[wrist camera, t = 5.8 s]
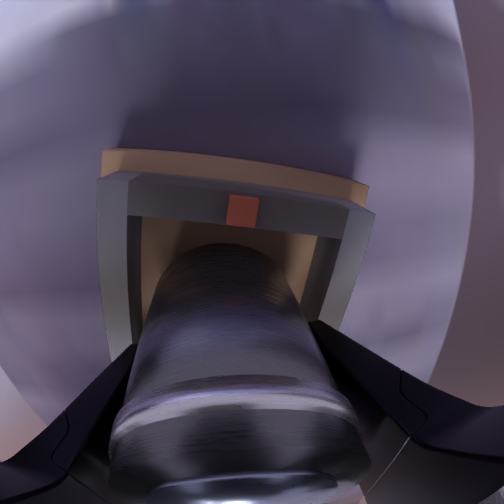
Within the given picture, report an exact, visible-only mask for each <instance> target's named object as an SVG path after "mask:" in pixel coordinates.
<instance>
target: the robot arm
mask: <svg viewBox="0 0 504 504" xmlns="http://www.w3.org/2000/svg"><path fill="white" fill-rule="evenodd" d="M308 324H309V326H310V328H311V331H312V333H313V335H314V337H315V339H316V341H317V343H318V345H319V347H320V350H321V352H322V354H323V356H324V358H325V360H326V362H327V365H328V367H329V369H330V371H331V373H332V375H333V378H334V380H335V382H336V384H337V386H338V388H339V391H340V393H341V394H342V395H344V396H345V397H346V398H347V399H348V401H349V402H350V403H351V405H352V407H353V409H354V411H355V413H356V415H357V417H358V420H359V422H360V424H361V426H362V428H363V431H364V442H363V444H364V446H365V448H366V451H367V453H368V455H369V457H370V460H371V463H372V464H371V469H370V471H369V473H368V474H367V476H366V477H365V478H364V479H363V480H362V481H361V482H360V483H359V485H360V487H361V490H362V492H363V494H364V496H365V499H366V502H367V504H504V405H502V406H496V407H483V406H478V405H474V404H472V403H469V402H467V401H465V400H462V399H460V398H458V397H455V396H453V395H451V394H449V393H446V392H444V391H442V390H439V389H437V388H435V387H433V386H431V385H429V384H427V383H425V382H423V381H421V380H419V379H418V378H416V377H414V376H412V375H410V374H409V373H407V372H405V371H404V370H401V369H400V368H398V367H397V366H395V365H393V364H392V363H390V362H388V361H387V360H385V359H383V358H382V357H380V356H379V355H377V354H375V353H374V352H372V351H370V350H369V349H367V348H365V347H364V346H362V345H360V344H359V343H357V342H355V341H354V340H352V339H351V338H349V337H347V336H346V335H344V334H342V333H341V332H339V331H338V330H336V329H334V328H333V327H331V326H330V325H328V324H326V323H325V322H323V321H321V320H313V321H309V322H308ZM137 347H138V343H135V344H130V345H129V346H128V347H127V348H126V349H125V350H124V351H123V352H122V353H121V354H120V355H119V356H118V357H117V358H116V359H115V360H114V361H113V362H112V363H111V364H110V365H109V366H108V367H107V368H106V369H105V370H104V371H103V372H102V373H101V374H100V375H99V376H98V377H97V378H96V379H95V380H94V381H93V382H92V383H91V384H90V385H89V386H88V387H87V388H86V389H85V390H84V391H83V392H82V393H81V394H80V395H79V396H78V397H77V398H76V399H75V400H74V401H73V402H72V403H71V404H70V405H69V406H68V407H67V408H66V411H65V410H64V411H63V412H62V413H61V414H60V415H59V416H58V417H57V418H56V419H55V420H54V421H53V422H52V423H51V424H50V425H49V426H48V427H47V428H46V429H45V430H43V431H42V432H41V433H40V434H39V435H38V436H37V437H36V438H34V439H33V440H32V441H31V442H29V443H28V444H27V445H26V446H25V447H24V448H22V449H21V450H20V451H19V452H18V453H16V454H15V455H14V456H13V457H11V458H10V459H8V460H6V461H3V462H0V504H128V503H126V502H125V501H123V500H122V499H120V498H119V497H118V496H116V495H115V494H114V493H113V491H112V490H111V489H110V487H109V484H108V478H109V471H110V465H111V461H110V458H109V455H108V446H109V441H110V436H111V432H112V427H113V423H114V420H115V417H116V415H117V414H118V412H119V411H120V409H121V408H122V405H123V401H124V397H125V393H126V388H127V384H128V380H129V377H130V373H131V369H132V365H133V361H134V358H135V354H136V351H137Z"/></svg>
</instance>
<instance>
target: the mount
mask: <svg viewBox="0 0 504 504" xmlns="http://www.w3.org/2000/svg"><path fill="white" fill-rule="evenodd" d="M368 189H369V186H368V185H365V184H363V183H360V182H357V181H355V180H352V179H348V178H343V177H339V176H334V175H330V174H325V173H320V172H315V171H310V170H305V169H300V168H295V167H289V166H283V165H278V164H272V163H265V162H259V161H252V160H246V159H239V158H231V157H223V156H215V155H206V154H197V153H187V152H176V151H164V150H149V149H131V148H112V149H107V150H102V163H101V178H99V179H97V249H98V266H99V278H100V289H101V298H102V307H103V314H104V321H105V328H106V334H107V340H108V346H109V351H110V357H111V362H113V361H114V360H115V359H116V358H117V357H118V356H119V355H120V354H121V353H122V352H123V351H124V350H125V349H126V348H127V347H128V346H129V345H130V344H135V343H139V340H140V337H141V333H142V330H143V326H144V323H145V320H146V317H147V313H148V310H149V307H150V304H151V301H152V298H153V295H154V292H155V289H156V286H157V283H158V281H159V278H160V277H161V275H162V273H163V272H164V270H165V269H166V268H167V267H168V266H169V264H170V263H172V262H173V261H174V260H175V259H176V258H178V257H179V256H181V255H182V254H184V253H185V252H187V251H189V250H191V249H194V248H197V247H200V246H203V245H208V244H214V243H233V244H239V245H244V246H247V247H250V248H253V249H255V250H257V251H259V252H261V253H263V254H264V255H266V256H268V257H269V258H270V259H271V260H273V261H274V262H275V263H276V264H277V265H278V266H279V268H280V269H281V270H282V272H283V273H284V275H285V276H286V279H287V281H288V283H289V285H290V287H291V289H292V291H293V293H294V295H295V297H296V299H297V301H298V303H299V305H300V307H301V310H302V312H303V314H304V316H305V318H306V320H307V322H309V321H313V320H321V321H323V322H325V323H326V324H328V325H330V326H331V327H333V328H334V329H336V330H338V329H339V327H340V324H341V322H342V319H343V316H344V314H345V311H346V308H347V305H348V303H349V300H350V297H351V294H352V291H353V288H354V285H355V282H356V279H357V276H358V273H359V270H360V267H361V264H362V261H363V257H364V254H365V251H366V248H367V244H368V241H369V237H370V234H371V230H372V227H373V223H374V219H375V215H376V214H374V213H372V212H371V211H369V210H367V209H365V208H364V205H365V201H366V197H367V193H368Z"/></svg>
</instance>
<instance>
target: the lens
mask: <svg viewBox="0 0 504 504" xmlns="http://www.w3.org/2000/svg"><path fill="white" fill-rule="evenodd" d="M363 442H364V431H363V428H362V426H361V424H360V422H359V420H358V417H357V415H356V413H355V411H354V409H353V407H352V405H351V403H350V402H349V401H348V399H347V398H346V397H345V396H344V395H342V394H341V393H340V391H339V388H338V386H337V384H336V382H335V380H334V378H333V375H332V373H331V371H330V369H329V367H328V365H327V362H326V360H325V358H324V356H323V354H322V352H321V350H320V347H319V345H318V343H317V341H316V339H315V337H314V335H313V333H312V331H311V328H310V326H309V324H308V322H307V320H306V318H305V316H304V314H303V312H302V310H301V307H300V305H299V303H298V301H297V299H296V297H295V295H294V293H293V291H292V289H291V287H290V285H289V283H288V281H287V279H286V276H285V275H284V273H283V272H282V270H281V269H280V268H279V266H278V265H277V264H276V263H275V262H274V261H273V260H271V259H270V258H269V257H268V256H266V255H264V254H263V253H261V252H259V251H257V250H255V249H253V248H250V247H247V246H244V245H239V244H233V243H214V244H208V245H203V246H200V247H197V248H194V249H191V250H189V251H187V252H185V253H184V254H182V255H181V256H179V257H178V258H176V259H175V260H174V261H173V262H172V263H170V264H169V266H168V267H167V268H166V269H165V270H164V272H163V273H162V275H161V277H160V278H159V281H158V283H157V286H156V289H155V292H154V295H153V298H152V301H151V304H150V307H149V310H148V313H147V317H146V320H145V323H144V326H143V330H142V333H141V337H140V340H139V343H138V347H137V351H136V354H135V358H134V361H133V365H132V369H131V373H130V377H129V380H128V384H127V388H126V393H125V397H124V401H123V405H122V408H121V409H120V411H119V412H118V414H117V415H116V417H115V420H114V423H113V427H112V432H111V436H110V441H109V446H108V455H109V458H110V461H111V465H110V471H109V478H108V484H109V487H110V489H111V490H112V491H113V493H114V494H115V495H116V496H118V497H119V498H120V499H122V500H123V501H125V502H126V503H128V504H326V503H328V502H330V501H332V500H334V499H336V498H338V497H340V496H342V495H343V494H345V493H347V492H348V491H350V490H351V489H353V488H354V487H355V486H356V485H358V484H359V483H360V482H361V481H362V480H363V479H364V478H365V477H366V476H367V474H368V473H369V471H370V469H371V464H372V463H371V460H370V457H369V455H368V453H367V451H366V448H365V446H364V444H363Z"/></svg>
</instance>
